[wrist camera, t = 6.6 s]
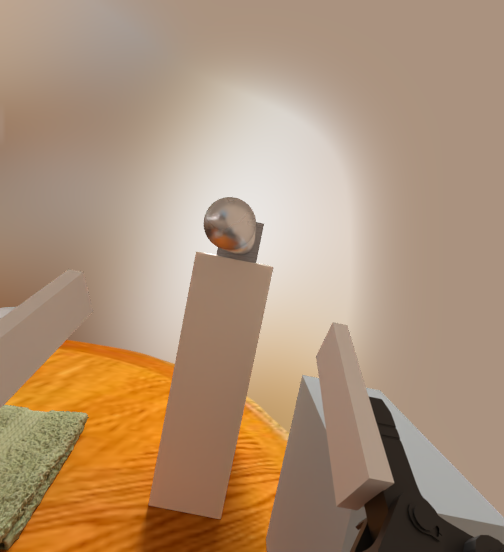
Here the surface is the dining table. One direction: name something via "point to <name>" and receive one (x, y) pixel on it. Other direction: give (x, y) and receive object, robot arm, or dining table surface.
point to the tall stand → (209, 384)
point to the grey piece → (233, 229)
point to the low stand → (342, 522)
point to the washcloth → (31, 461)
